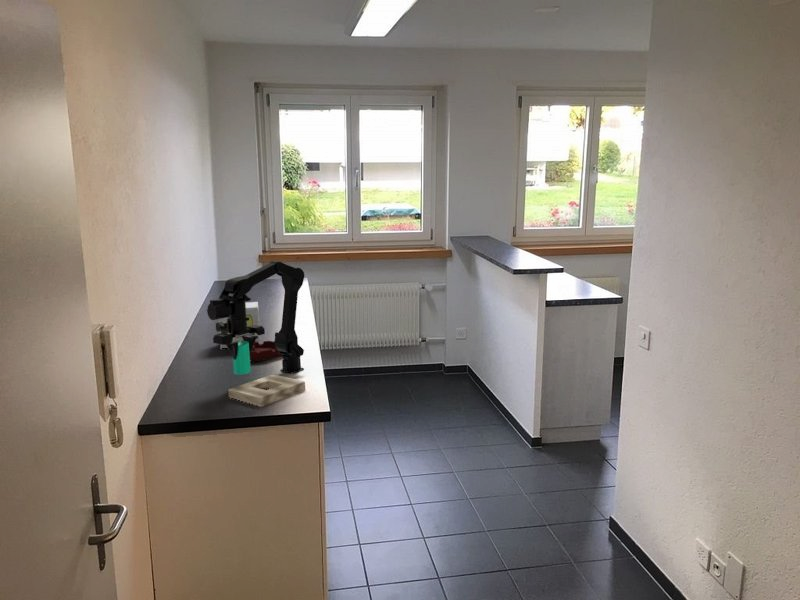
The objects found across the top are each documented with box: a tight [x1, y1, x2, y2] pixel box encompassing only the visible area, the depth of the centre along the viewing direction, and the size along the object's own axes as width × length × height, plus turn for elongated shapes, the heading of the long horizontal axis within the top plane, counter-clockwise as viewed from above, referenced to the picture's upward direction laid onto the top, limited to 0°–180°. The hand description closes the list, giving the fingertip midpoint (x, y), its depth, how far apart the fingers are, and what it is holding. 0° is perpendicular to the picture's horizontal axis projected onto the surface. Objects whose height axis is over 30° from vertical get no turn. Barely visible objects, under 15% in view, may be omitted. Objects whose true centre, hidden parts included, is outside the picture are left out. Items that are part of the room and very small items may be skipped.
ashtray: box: [250, 340, 284, 362], centre depth 268 cm, size 18×16×5 cm
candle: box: [232, 341, 252, 375], centre depth 229 cm, size 6×6×12 cm
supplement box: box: [218, 301, 262, 350], centre depth 287 cm, size 17×13×18 cm
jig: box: [227, 374, 306, 408], centre depth 221 cm, size 20×16×3 cm
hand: (241, 358), depth 230 cm, fingers closed on candle, 5 cm apart
